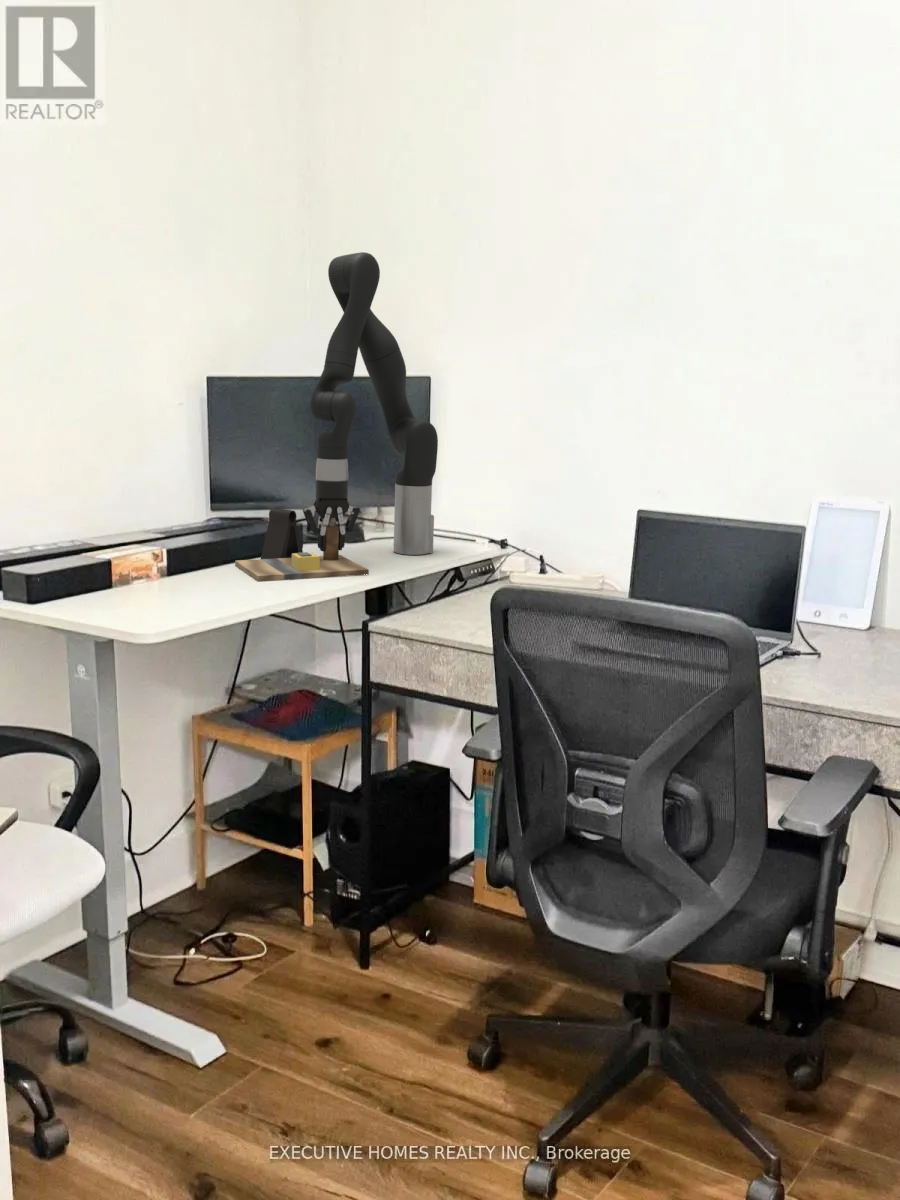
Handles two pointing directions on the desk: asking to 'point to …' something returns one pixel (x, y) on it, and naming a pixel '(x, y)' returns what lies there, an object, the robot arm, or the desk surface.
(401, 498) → the robot arm
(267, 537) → the phone stand
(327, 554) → the brown wooden bottle
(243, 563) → the panel
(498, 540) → the desk surface
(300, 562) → the block
